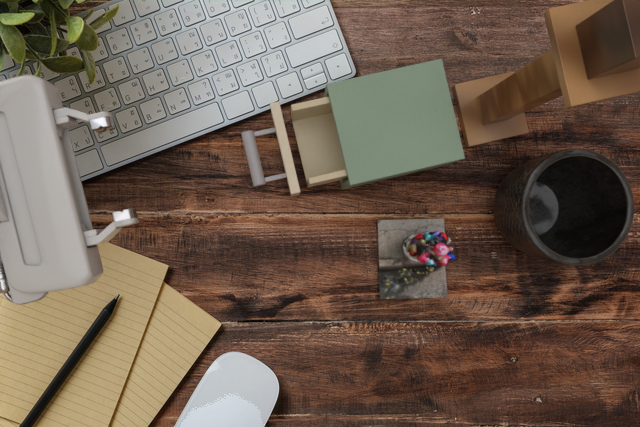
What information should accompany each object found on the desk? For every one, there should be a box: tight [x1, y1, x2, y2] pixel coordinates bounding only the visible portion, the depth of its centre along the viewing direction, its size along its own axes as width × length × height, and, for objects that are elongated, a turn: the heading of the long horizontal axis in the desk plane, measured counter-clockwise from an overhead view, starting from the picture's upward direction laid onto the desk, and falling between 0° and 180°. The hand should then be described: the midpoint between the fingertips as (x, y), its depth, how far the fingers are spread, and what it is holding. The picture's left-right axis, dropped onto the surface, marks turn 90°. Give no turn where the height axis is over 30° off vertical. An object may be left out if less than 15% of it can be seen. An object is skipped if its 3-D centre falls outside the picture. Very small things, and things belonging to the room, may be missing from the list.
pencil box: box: [576, 0, 640, 80], centre depth 40 cm, size 5×5×6 cm
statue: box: [376, 218, 456, 300], centre depth 61 cm, size 11×9×15 cm
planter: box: [492, 148, 635, 267], centre depth 63 cm, size 14×14×13 cm
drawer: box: [240, 96, 348, 198], centre depth 62 cm, size 18×11×8 cm, turn 103°
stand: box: [451, 0, 640, 148], centre depth 56 cm, size 9×9×26 cm
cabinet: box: [322, 58, 466, 191], centre depth 63 cm, size 15×13×10 cm
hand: (123, 167), depth 46 cm, fingers open, 8 cm apart
